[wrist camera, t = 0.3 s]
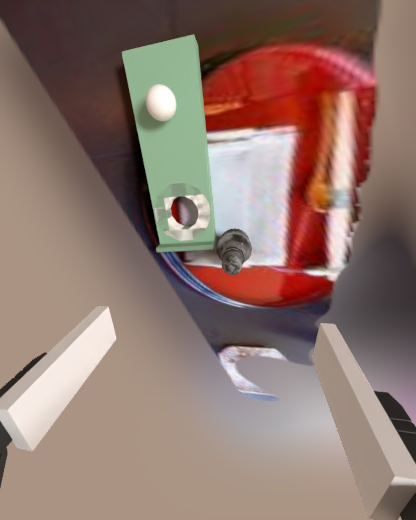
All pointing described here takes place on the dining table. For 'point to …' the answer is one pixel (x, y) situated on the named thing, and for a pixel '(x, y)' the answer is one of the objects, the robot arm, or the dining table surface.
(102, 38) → the dining table surface
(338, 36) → the dining table surface
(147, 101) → the ball
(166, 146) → the green flat block
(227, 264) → the dark grey figurine
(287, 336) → the dining table surface
